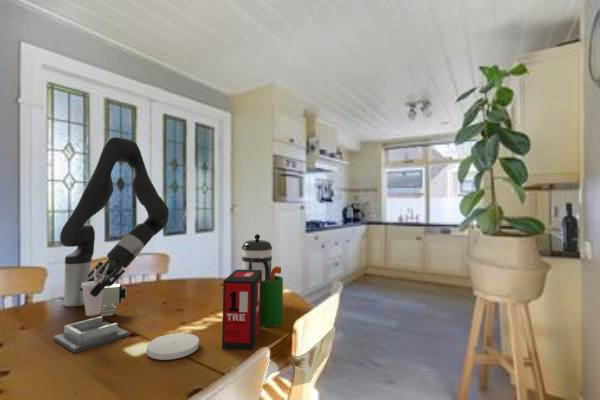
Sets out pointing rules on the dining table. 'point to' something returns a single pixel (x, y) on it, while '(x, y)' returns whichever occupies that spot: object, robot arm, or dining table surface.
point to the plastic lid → (172, 346)
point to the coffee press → (257, 256)
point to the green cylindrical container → (272, 299)
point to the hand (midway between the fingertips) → (87, 293)
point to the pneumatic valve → (112, 298)
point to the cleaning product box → (242, 309)
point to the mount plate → (89, 334)
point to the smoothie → (91, 297)
